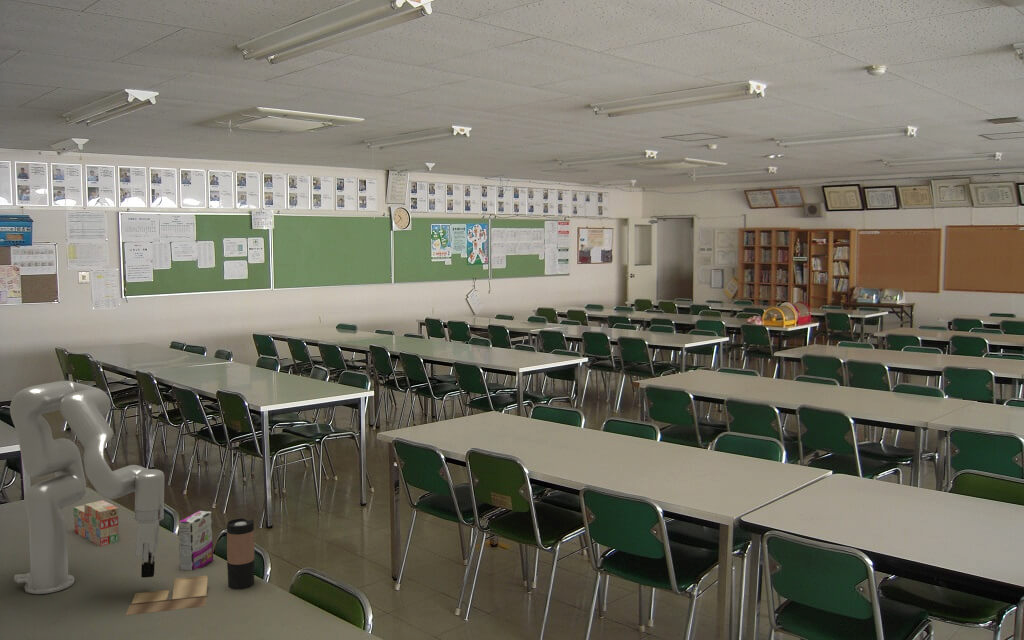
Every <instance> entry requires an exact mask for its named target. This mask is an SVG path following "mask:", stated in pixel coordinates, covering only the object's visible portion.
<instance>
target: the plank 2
mask: <svg viewBox="0 0 1024 640" xmlns="http://www.w3.org/2000/svg"><path fill="white" fill-rule="evenodd" d="M208 581H209V576H208V574H207V575H198V576H190V577H189V576H187V577H178V578H174V580H173V588H172V589H173V590H172V599H180V598H190V597H199V596H208V584H209V582H208Z"/></svg>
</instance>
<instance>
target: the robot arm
mask: <svg viewBox="0 0 1024 640" xmlns="http://www.w3.org/2000/svg"><path fill="white" fill-rule="evenodd" d="M111 404H112V403H111V399H110V397H109V395H108V394H107V393H106V392H105V390H102V389H100V388H98V387H94V386H92V385H86V384H84V383H79V382H75V381H71V380H59V381H53V382H52V381H51V382H47V383H39V384H35V385H31V386H29V387H26V388H23V389H21V390H20V391H18V392H17V393H16V394H15V395H14V396H13V398H12V400H11V402H10V404H9V405H10V406H9V413H10V418H11V421H12V424H13V425H14V428H15V431H16V434H17V439H18V440H17V441H18V444H19V450H20V455H21V461H22V464H23V469H24V471H25V473H26V474H27V475H28V476H29V477H31V478H41V477H45V476H48V475H51V474H54V475H55V476H54V477H51V478H48V479H45V480H42V481H38V482H36V483H35V484H33V485H31V486H30V487H29V488H28V489H27V490H26V491H25V494H24V496H23V497H24V498H23V502H24V503H23V504H24V509H25V511H26V515H27V520H28V534H29V561H30V562H29V563H30V565H29V566H30V572H27V573H24V574H23V573H19V574H14V578H13V580H14V582H16V584H23V583H25V585H24V591H25V592H26V593H29V594H32V595H42V594H43V595H45V594H46V595H47V594H52V593H56V592H60V591H62V590H66V589H67V588H69V587H71V586H72V585H73V584H74V582H75V577H74V575H72V574H69V558H68V554H69V553H68V552H69V551H68V549H69V548H68V528H67V526H68V525H67V522H66V519H65V517H64V515H62V512H61V510H62V509H64V508H66V507H69V506H71V505H74V504H76V503H78V502H80V501H81V500H83V498H84V497H85V495H86V493H87V482H86V481H87V480H86V477H87V479H88V481H89V483H90V484H91V485H92V487H93V488H94V490H96V492H97V494H99V495H100V496H101V497H102V498H103V499H107V500H115V499H118V498H121V497H124V496H126V495H128V494H131V493H134V522H136V523H137V529H136V545H135V557H136V558H139V557H140V556H141V570H140V571H141V572H140V573H141V574H140V576H141V578H153V577H154V576H155V565H156V564H155V563H156V561H155V554H156V551H157V548H158V546H159V540H160V539H159V535H160V521H162V520H163V519H164V513H165V512H164V510H165V509H164V506H165V474H164V472H163V471H162V470H161V469H156V468H155V469H154V468H146V467H143V466H142V465H138V464H130V465H127V466H124V467H120V468H118V469H116V470H112V469H111V468H110V466H109V464H108V462H107V461H106V458H105V454H104V450H105V447H106V445H107V444H108V443H109V441H111V439H112V438H113V437H114V430H113V428H112V427H111V426H110V425H109V422H107V420H106V419H105V418H104V415H106V414H107V413H108V412H109V411H110V408H111ZM56 411H59V412H60V413H61V415H62V417H63V419H64V420H65V422H66V423H67V425H68V426H69V428H70V430H71V431H72V432H73V434H74V435H75V436H76V438H77V439H78V441H79V442H80V444H81V445H82V447H83V450H84V453H83V460H82V456H81V452H80V449H79V447H78V446H77V444H76V443H75V442H74V441H73V440H71V439H68V438H64V437H62V438H56V439H54V437H53V434H52V427H51V426H50V424H49V422H48V420H46V419H45V418H44V416H42V415H44V414H47V413H53V412H56ZM85 476H86V477H85Z"/></svg>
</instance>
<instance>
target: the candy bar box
mask: <svg viewBox="0 0 1024 640" xmlns="http://www.w3.org/2000/svg"><path fill="white" fill-rule="evenodd" d="M212 513H213V512H212V511H208V510H207V511H206V510H198V511H195V512H194V513H192V514H191V515H188V516H187V517H185V518H182V519H181V520H179V521H178V524H177V525H178V545H179V546H178V549H179V571H183V570H184V571H185V570H186V571H194V570H196V569H203V568H204V567H206V566H207V565H209V564H210V563H212V562H213V561H214V548H213V547H214V545H213V515H212Z"/></svg>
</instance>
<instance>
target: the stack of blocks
mask: <svg viewBox="0 0 1024 640" xmlns="http://www.w3.org/2000/svg"><path fill="white" fill-rule="evenodd" d="M73 516H74V519H73V520H74V532H75V533H76V534H77V535H79V536H80V537H83V538H85V539H87V540H88V541H90V542H92V543H93V544H94V545H97V546H98V545H99V547H100V546H101V547H104V546H108V545H111V544H110V543H112V544H115V543H114V542H116V543H119V542H118V541H119V537H120V536H119V507H118V506H116V505H114V504H112V503H109V502H107V501H106V500H102V499H101V500H98V501H93V502H88V503H84V504H83V505H78V506H74V507H73ZM107 544H108V545H107ZM103 545H104V546H103Z"/></svg>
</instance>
